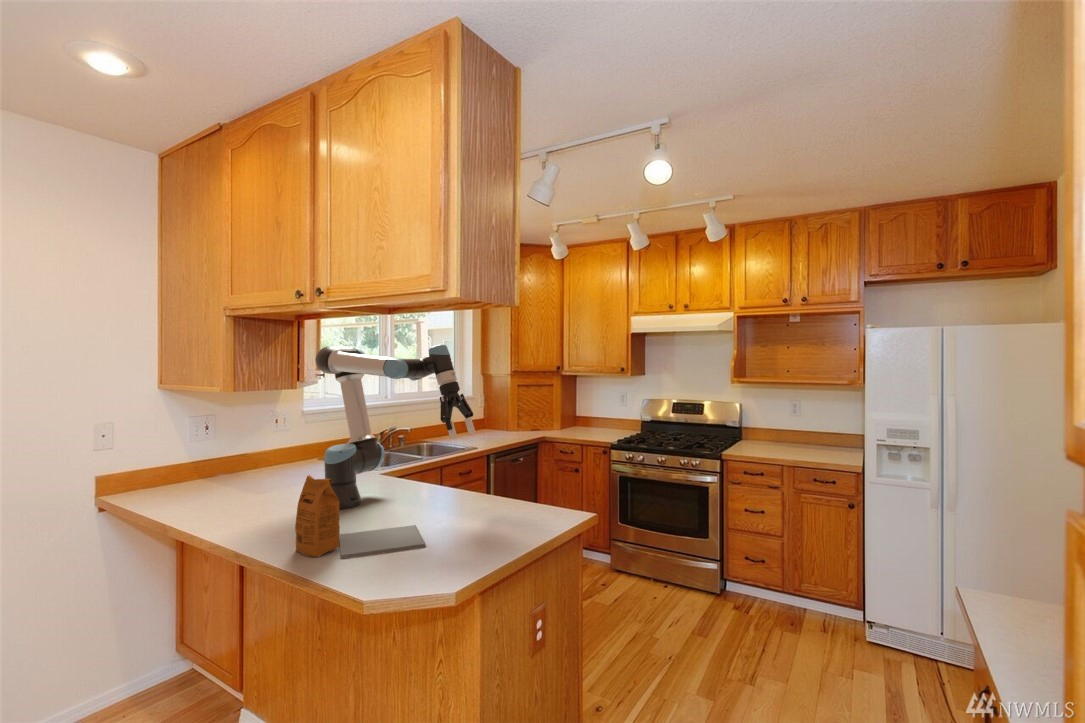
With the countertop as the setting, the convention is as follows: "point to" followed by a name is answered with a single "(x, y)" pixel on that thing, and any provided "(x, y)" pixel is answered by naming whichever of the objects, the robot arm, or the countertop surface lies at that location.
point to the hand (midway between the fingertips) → (463, 436)
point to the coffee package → (317, 518)
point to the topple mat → (380, 541)
